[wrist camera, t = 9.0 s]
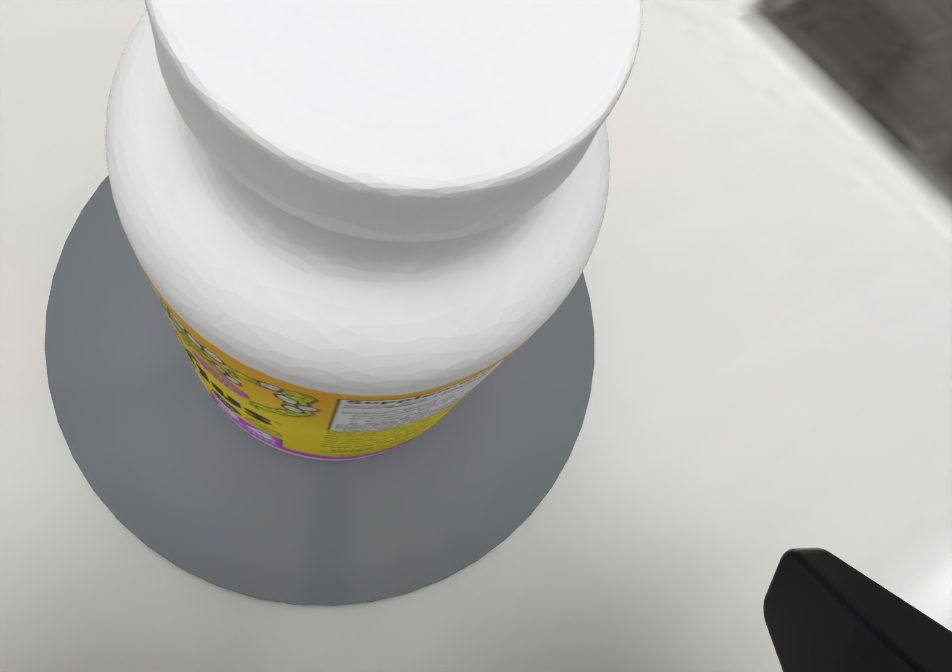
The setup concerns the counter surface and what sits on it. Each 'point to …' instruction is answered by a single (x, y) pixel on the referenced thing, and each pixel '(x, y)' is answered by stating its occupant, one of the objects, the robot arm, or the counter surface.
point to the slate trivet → (285, 475)
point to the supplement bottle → (362, 195)
